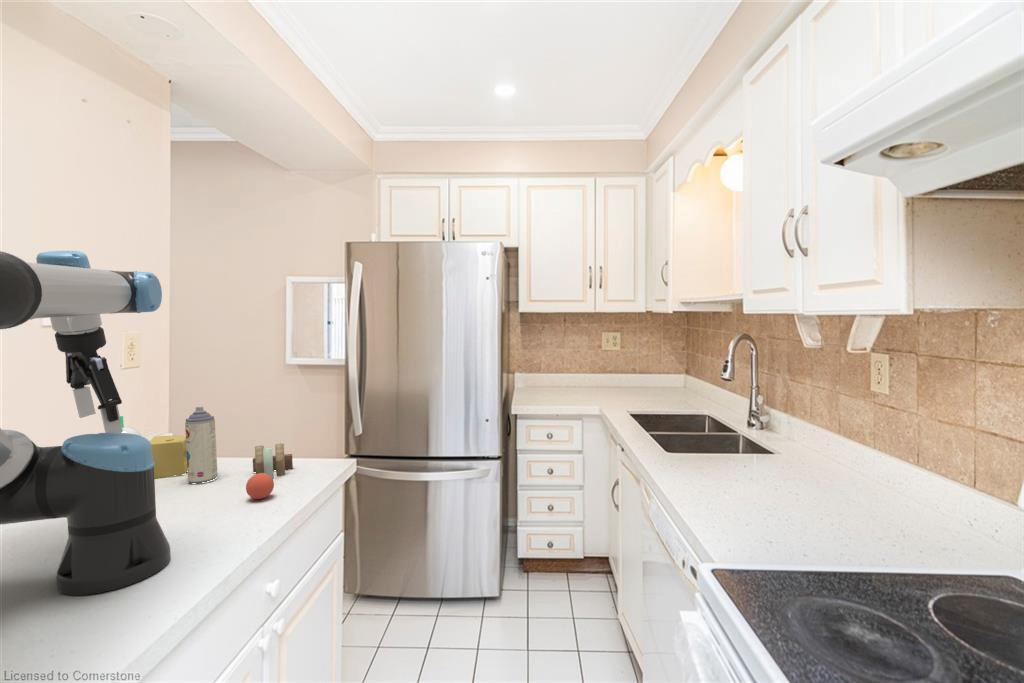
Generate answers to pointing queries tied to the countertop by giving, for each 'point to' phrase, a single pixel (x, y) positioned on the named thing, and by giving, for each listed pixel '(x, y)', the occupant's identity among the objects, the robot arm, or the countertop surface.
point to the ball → (259, 486)
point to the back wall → (287, 462)
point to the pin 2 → (280, 459)
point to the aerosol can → (201, 446)
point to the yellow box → (169, 455)
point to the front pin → (268, 461)
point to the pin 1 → (259, 459)
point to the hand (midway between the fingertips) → (100, 424)
